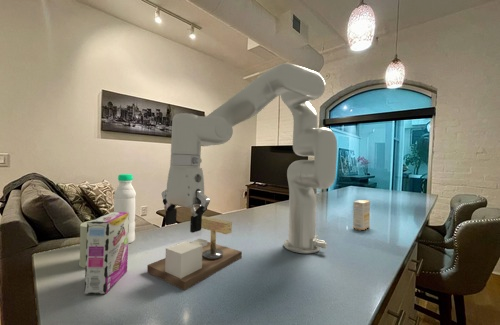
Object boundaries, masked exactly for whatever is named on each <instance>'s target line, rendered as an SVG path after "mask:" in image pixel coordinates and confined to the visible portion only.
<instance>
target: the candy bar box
mask: <svg viewBox="0 0 500 325" xmlns="http://www.w3.org/2000/svg"><path fill="white" fill-rule="evenodd" d="M88 221H89V222H87V221H86V222H87V242H86V268H84V270H85V273H84V274H85V275H84V276H85V277H84V295H106V294H107V293H108V292H109V291H110V290H111V289H112V288H113V287H114V286H115V285H116V284H117V283H118V281H119V280H120V279H121V278H122V277H123V276H124V275H125V274H126V273H127V272H128V258H129V257H128V253H129V244H128V233H129V213H127V212H114V211H111V212H109V213H106V214H104V215H102V216H100V217H97V218H95V219H94V218H93V219H92V221H91V220H88Z"/></svg>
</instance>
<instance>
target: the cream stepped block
mask: <svg viewBox="0 0 500 325" xmlns="http://www.w3.org/2000/svg"><path fill="white" fill-rule="evenodd" d="M207 242H208V240H207V239H206V240H205V239H202V238H197V239H195V240H192V241H189V240H185V241H182V242H180V243H177V244H174V245H171V246H168V247H165V258H166V259H165V272H167V273H169V274H172V275H174V276H176V277H178V278H180V279H181V278H183V277H185V276H187V275H189V274H191V273H193V272H195V271H197V270H199V269H201V268H202V247H204V246H206V245H207Z"/></svg>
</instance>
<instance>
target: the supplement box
mask: <svg viewBox="0 0 500 325" xmlns="http://www.w3.org/2000/svg"><path fill="white" fill-rule="evenodd" d="M352 207H353V210H352V211H353V212H352V213H353V214H352V217H353V218H352V220H353V222H352V228H355V229H354V230H356V229H359V230H358V231H361V230H364V231H365V229H366V230H368V229H370V223H371V222H370V220H371V219H370V218H371V213H370V212H371V210H370V209H371V201H370V200H365V199H364V200H363V199H358V200H354V201H353V206H352ZM367 228H368V229H367Z"/></svg>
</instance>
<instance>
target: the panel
mask: <svg viewBox="0 0 500 325" xmlns="http://www.w3.org/2000/svg"><path fill="white" fill-rule="evenodd" d="M210 242H211V241H207V245H206V246H204V247H202V268H201V269H199V270H197V271H195V272H193V273H191V274H189V275H187V276H185V277H183V278H181V279H180V278H178V277H176V276H174V275H172V274H169V273H167V272H165V259H166V257H164V258H162V259H160V260H157V261H154V262H152V263H149V264H147V267H146V268H147V269H146V270H147V273H148V274H150V275H152V276H153V277H156V278H158V279H159V280H162V281H164V282H166V283H168V284H170V285H172V286H174V287H177V288H178V289H180V290H182V291H186V290H188V289H190V288H191V287H194V286H195V285H196V284H199V283H200V282H202V281H204V280H206V279H207V278H209V277H211V276H212V275H213V276H214V274H216V273H218V272H221V270H223V269H225V268H227V267H228V266H230V265H232V264H233V263H235V262H237V261H239V260H240V259H242V257H243V256H242V254H243V252H242V250H238V249H233V248H230V247H227V246H224V245H221V244H217V243H216V249H219V250H221V251H223V257H222V258H221V259H218V260H206V259H204V258H203V252H204V251H206V250H209V249H210Z"/></svg>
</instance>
